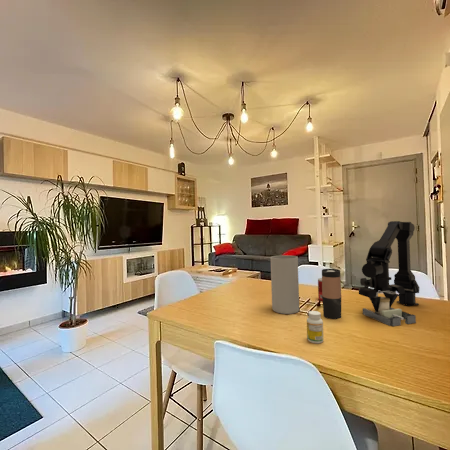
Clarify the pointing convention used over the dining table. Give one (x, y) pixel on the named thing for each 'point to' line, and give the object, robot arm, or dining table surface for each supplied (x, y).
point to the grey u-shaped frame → (392, 320)
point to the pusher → (393, 313)
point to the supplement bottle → (315, 327)
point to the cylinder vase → (285, 284)
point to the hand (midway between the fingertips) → (382, 310)
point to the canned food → (320, 289)
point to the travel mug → (331, 293)
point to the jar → (383, 305)
